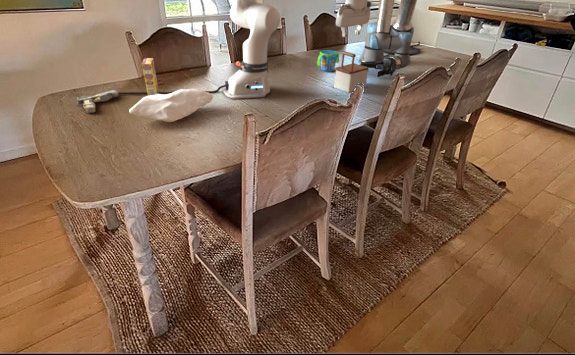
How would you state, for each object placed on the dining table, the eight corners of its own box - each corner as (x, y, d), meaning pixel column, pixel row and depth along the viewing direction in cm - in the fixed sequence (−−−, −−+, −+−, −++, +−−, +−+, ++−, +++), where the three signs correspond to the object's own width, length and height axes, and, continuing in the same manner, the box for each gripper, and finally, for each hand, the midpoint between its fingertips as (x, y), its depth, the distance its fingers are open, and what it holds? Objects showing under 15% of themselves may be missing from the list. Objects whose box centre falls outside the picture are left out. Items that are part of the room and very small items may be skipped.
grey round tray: (430, 51, 257) (433, 37, 253) (397, 56, 240) (399, 42, 235) (392, 44, 282) (394, 31, 277) (360, 48, 264) (361, 35, 260)
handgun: (128, 97, 156) (111, 87, 164) (86, 107, 144) (70, 97, 152) (129, 103, 157) (113, 94, 165) (88, 114, 146) (72, 103, 154)
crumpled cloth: (117, 110, 146) (113, 90, 140) (195, 92, 166) (194, 73, 160) (143, 139, 134) (140, 118, 128) (223, 116, 154) (224, 96, 148)
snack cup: (332, 66, 217) (333, 48, 212) (343, 70, 210) (345, 52, 204) (311, 69, 210) (312, 51, 204) (322, 74, 202) (324, 55, 197)
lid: (349, 74, 174) (351, 55, 169) (334, 69, 180) (336, 51, 175) (368, 69, 182) (371, 51, 178) (353, 65, 188) (355, 47, 183)
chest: (348, 92, 179) (350, 74, 175) (334, 87, 185) (335, 69, 180) (365, 87, 187) (368, 69, 182) (351, 82, 193) (353, 65, 188)
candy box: (157, 97, 164) (152, 63, 155) (147, 98, 163) (141, 63, 155) (158, 91, 171) (153, 57, 163) (149, 91, 170) (143, 58, 162)
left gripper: (345, 5, 155) (341, 39, 162) (374, 2, 166) (369, 34, 174) (334, 3, 158) (331, 36, 166) (363, 1, 170) (359, 32, 178)
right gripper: (408, 76, 196) (386, 84, 183) (370, 66, 211) (347, 72, 198) (411, 62, 191) (389, 69, 179) (373, 52, 207) (349, 58, 194)
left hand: (350, 35), depth 170 cm, fingers open, 8 cm apart
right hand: (367, 71), depth 189 cm, fingers open, 13 cm apart
